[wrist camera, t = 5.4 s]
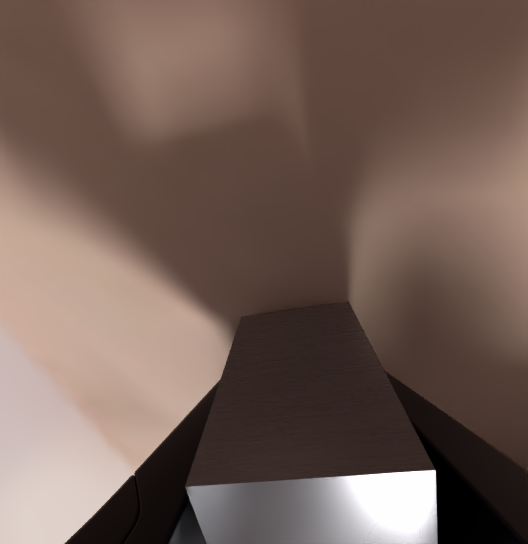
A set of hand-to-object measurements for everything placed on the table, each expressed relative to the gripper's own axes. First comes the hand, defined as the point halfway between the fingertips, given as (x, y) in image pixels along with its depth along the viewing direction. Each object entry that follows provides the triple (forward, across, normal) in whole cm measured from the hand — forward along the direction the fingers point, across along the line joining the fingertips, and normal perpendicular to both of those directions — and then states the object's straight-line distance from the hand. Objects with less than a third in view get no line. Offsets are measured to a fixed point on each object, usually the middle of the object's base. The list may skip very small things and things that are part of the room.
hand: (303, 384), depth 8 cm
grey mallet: (+1, -1, +4) cm, 5 cm away
